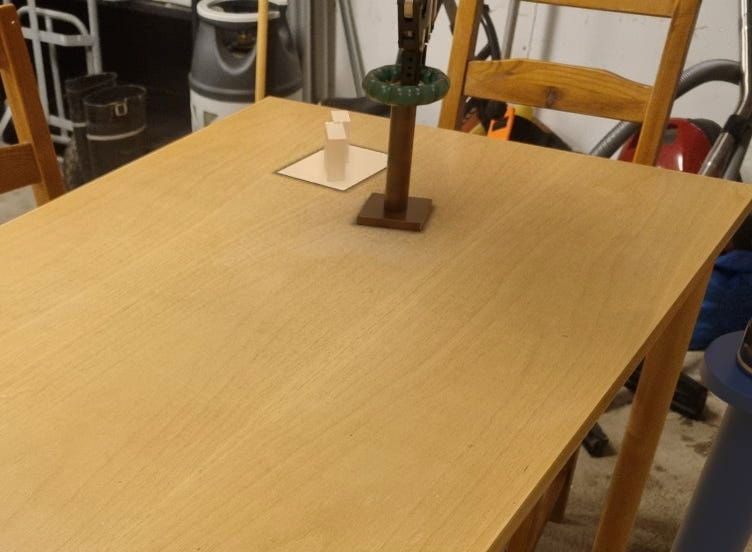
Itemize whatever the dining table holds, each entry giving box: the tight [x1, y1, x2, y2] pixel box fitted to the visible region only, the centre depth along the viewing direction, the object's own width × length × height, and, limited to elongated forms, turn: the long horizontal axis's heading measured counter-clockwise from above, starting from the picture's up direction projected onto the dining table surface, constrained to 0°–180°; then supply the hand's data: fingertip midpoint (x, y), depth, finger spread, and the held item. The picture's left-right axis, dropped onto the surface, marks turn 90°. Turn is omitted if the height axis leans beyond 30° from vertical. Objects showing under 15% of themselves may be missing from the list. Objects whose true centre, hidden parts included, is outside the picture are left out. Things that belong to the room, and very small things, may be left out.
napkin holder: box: [277, 110, 388, 192], centre depth 128 cm, size 15×11×6 cm
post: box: [356, 105, 433, 232], centre depth 113 cm, size 8×8×13 cm
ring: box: [361, 63, 452, 107], centre depth 108 cm, size 10×10×2 cm
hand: (412, 82), depth 111 cm, fingers closed on ring, 2 cm apart
